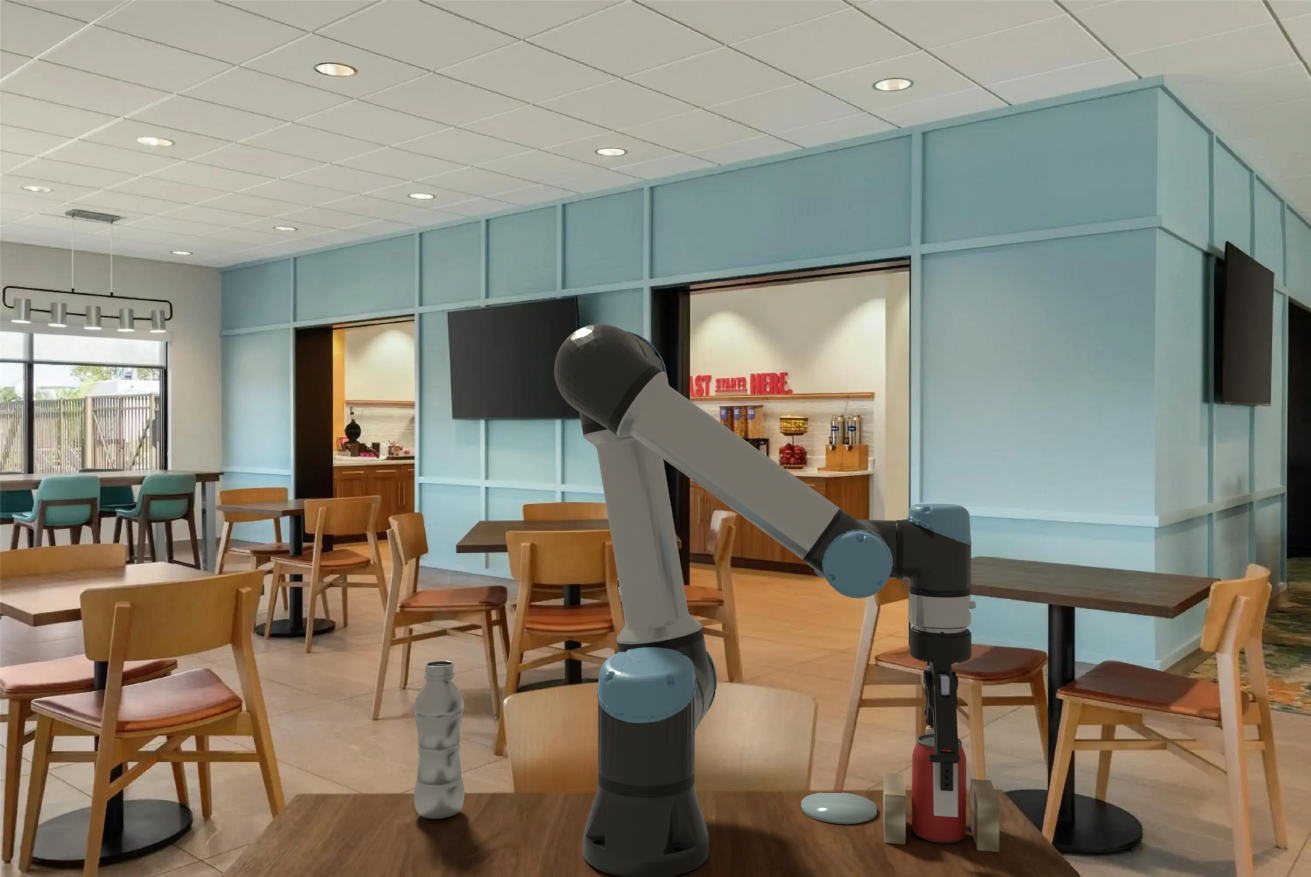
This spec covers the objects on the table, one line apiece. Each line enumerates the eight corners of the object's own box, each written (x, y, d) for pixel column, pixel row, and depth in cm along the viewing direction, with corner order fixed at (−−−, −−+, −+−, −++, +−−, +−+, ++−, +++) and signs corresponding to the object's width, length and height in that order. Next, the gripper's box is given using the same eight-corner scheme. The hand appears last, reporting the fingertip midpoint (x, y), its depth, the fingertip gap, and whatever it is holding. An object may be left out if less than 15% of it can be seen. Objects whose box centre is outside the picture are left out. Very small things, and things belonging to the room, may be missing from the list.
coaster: (799, 820, 133) (799, 816, 133) (802, 794, 142) (803, 789, 142) (877, 826, 131) (877, 822, 131) (876, 799, 141) (876, 794, 141)
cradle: (884, 842, 126) (884, 794, 126) (882, 818, 134) (883, 773, 134) (998, 852, 123) (999, 802, 123) (990, 826, 131) (990, 780, 131)
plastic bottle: (475, 812, 135) (475, 661, 135) (438, 829, 129) (439, 671, 129) (439, 802, 138) (440, 655, 138) (402, 818, 133) (403, 665, 133)
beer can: (968, 847, 124) (969, 749, 124) (912, 842, 126) (913, 746, 126) (963, 827, 131) (963, 734, 131) (910, 822, 132) (911, 730, 132)
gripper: (983, 648, 115) (984, 836, 115) (961, 610, 140) (961, 765, 140) (915, 646, 117) (916, 831, 117) (904, 609, 141) (905, 762, 141)
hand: (941, 795), depth 128 cm, fingers open, 13 cm apart
